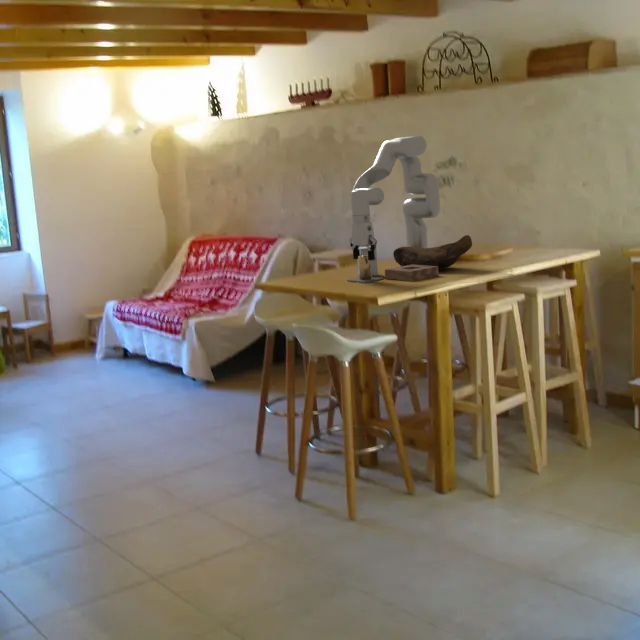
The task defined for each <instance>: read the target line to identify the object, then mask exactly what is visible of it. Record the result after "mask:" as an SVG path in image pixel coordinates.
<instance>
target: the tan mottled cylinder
mask: <svg viewBox="0 0 640 640" xmlns="http://www.w3.org/2000/svg"><path fill="white" fill-rule="evenodd" d="M358 263H359V275H358V276H359V277H358V278H360V280H368V279H371V277H372V276H371V266H370V260H368V255H360V256H358V262H357V264H358Z"/></svg>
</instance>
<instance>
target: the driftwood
mask: <svg viewBox="0 0 640 640" xmlns="http://www.w3.org/2000/svg"><path fill="white" fill-rule="evenodd" d="M472 246H473V240H472V237H471V236H470V235H469V234H468V235H467V234H466V235H463V236H462V237H461V238H460V239H459V240H457V241H455V242H451V243H446V244H442V245H439V246H434V247H428V248H414V247H407V246H400V247H398V248H395V249H394V250H393V254H392V255H393V258H394V260H395V263H396V264H398V265H399V267H401V266H407V265H426V266H438V271H441V270H445V269H448V268H449V267H452V266H453V265H454V264H455V263H456V262H458V260H459V258H461V256H462V255H463V256H464V254H466V253H467V252H468V251H469V250H470V249H471V248H472Z"/></svg>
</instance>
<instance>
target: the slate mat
mask: <svg viewBox="0 0 640 640" xmlns="http://www.w3.org/2000/svg"><path fill="white" fill-rule="evenodd" d="M382 279H383V280H384V277H379V276H378V277H376V276H371V279H368V280H360V277H356V278H352V279H347V280H346V281H347V282H348V281H350V282H349V283H357V282H359V283H360V284H365V283H366V284H367V283H371V282H372V281H373V282H378V281H382ZM377 280H378V281H377ZM373 282H372V283H373Z"/></svg>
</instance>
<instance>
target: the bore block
mask: <svg viewBox="0 0 640 640" xmlns="http://www.w3.org/2000/svg"><path fill="white" fill-rule="evenodd" d="M434 277H439V270H438V266H426V265H407V266H397V267H396V266H395V267H391V268H386V269H384V279H385V280H393V279H397V280H396V281H403V280H405V281H406V282H415V281H420V280H424V279H425V280H426V279H430V278H434ZM414 280H415V281H414ZM405 281H404V282H405Z"/></svg>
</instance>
